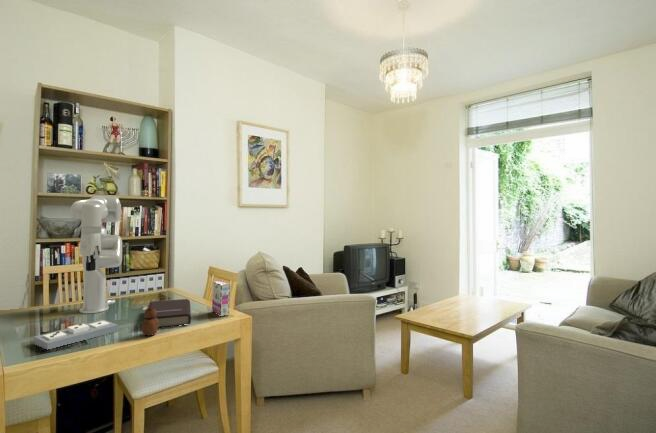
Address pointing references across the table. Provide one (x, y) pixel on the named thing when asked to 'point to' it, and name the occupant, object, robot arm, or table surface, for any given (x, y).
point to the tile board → (75, 336)
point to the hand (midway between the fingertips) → (90, 270)
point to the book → (172, 312)
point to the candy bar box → (220, 297)
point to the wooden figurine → (150, 321)
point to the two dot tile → (78, 328)
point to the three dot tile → (54, 335)
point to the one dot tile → (99, 324)
